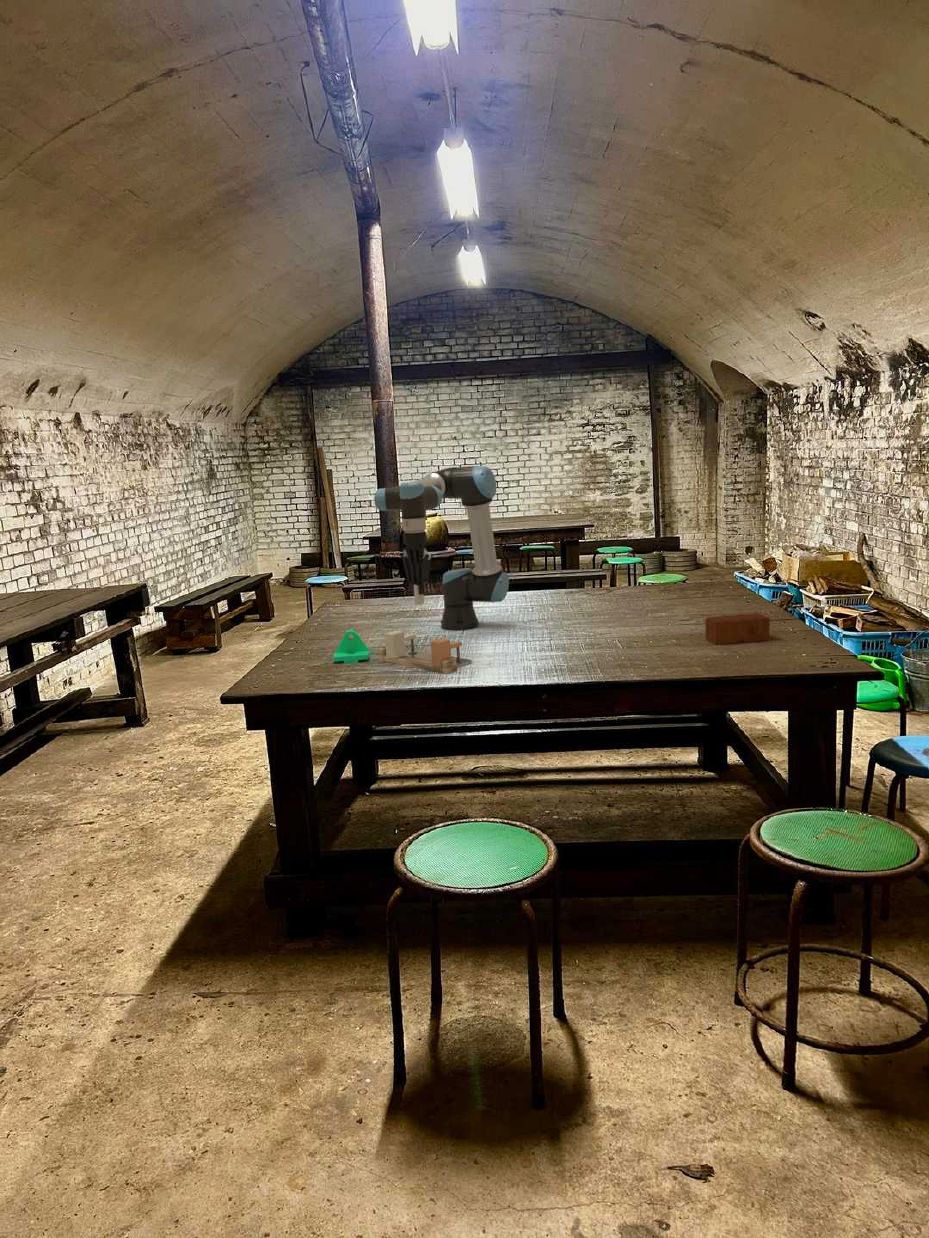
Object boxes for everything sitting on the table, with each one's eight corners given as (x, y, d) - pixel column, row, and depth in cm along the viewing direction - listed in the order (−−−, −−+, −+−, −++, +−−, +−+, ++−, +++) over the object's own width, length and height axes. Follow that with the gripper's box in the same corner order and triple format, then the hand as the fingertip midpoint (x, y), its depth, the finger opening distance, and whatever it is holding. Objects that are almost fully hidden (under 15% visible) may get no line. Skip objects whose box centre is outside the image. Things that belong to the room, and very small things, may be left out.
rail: (390, 657, 268) (389, 646, 268) (456, 670, 247) (456, 658, 247) (379, 660, 265) (378, 649, 264) (446, 674, 244) (445, 662, 243)
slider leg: (456, 658, 256) (454, 634, 254) (465, 660, 253) (463, 635, 252) (432, 666, 248) (430, 641, 246) (441, 668, 245) (439, 642, 243)
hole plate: (413, 652, 274) (413, 649, 274) (472, 663, 256) (471, 659, 255) (396, 657, 268) (396, 654, 268) (455, 668, 250) (455, 665, 250)
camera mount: (333, 664, 264) (331, 635, 262) (335, 659, 271) (333, 630, 269) (368, 662, 264) (366, 633, 262) (369, 656, 272) (367, 628, 270)
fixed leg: (410, 650, 270) (409, 627, 269) (418, 651, 268) (417, 628, 266) (386, 657, 262) (384, 633, 260) (394, 659, 259) (392, 634, 258)
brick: (770, 617, 262) (770, 641, 264) (758, 612, 271) (757, 635, 273) (716, 621, 260) (715, 646, 262) (705, 616, 268) (704, 640, 270)
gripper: (391, 532, 247) (397, 604, 252) (420, 533, 238) (425, 608, 243) (408, 529, 252) (413, 600, 257) (437, 530, 243) (442, 603, 248)
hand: (419, 603), depth 250 cm, fingers closed
